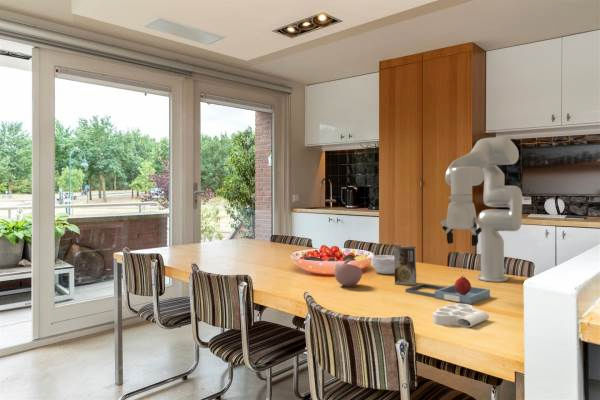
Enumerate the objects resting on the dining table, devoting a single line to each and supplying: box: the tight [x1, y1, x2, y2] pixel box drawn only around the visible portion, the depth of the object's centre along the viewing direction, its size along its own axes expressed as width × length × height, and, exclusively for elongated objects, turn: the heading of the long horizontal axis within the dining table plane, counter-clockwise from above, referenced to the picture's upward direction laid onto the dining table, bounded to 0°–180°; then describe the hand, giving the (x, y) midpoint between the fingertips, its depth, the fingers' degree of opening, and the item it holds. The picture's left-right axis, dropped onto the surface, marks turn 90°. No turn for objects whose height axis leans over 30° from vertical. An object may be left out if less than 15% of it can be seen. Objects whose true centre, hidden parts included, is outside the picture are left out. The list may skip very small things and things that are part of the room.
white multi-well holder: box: [432, 303, 490, 329], centre depth 140 cm, size 3×18×15 cm
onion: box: [454, 274, 472, 296], centre depth 167 cm, size 6×6×8 cm
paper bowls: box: [370, 254, 395, 275], centre depth 220 cm, size 15×15×8 cm
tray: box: [434, 284, 491, 306], centre depth 167 cm, size 16×14×3 cm
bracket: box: [405, 283, 446, 298], centre depth 178 cm, size 14×13×1 cm
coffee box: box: [393, 245, 417, 286], centre depth 194 cm, size 9×6×16 cm
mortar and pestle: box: [333, 258, 363, 287], centre depth 191 cm, size 12×12×12 cm
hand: (462, 244), depth 167 cm, fingers open, 9 cm apart
